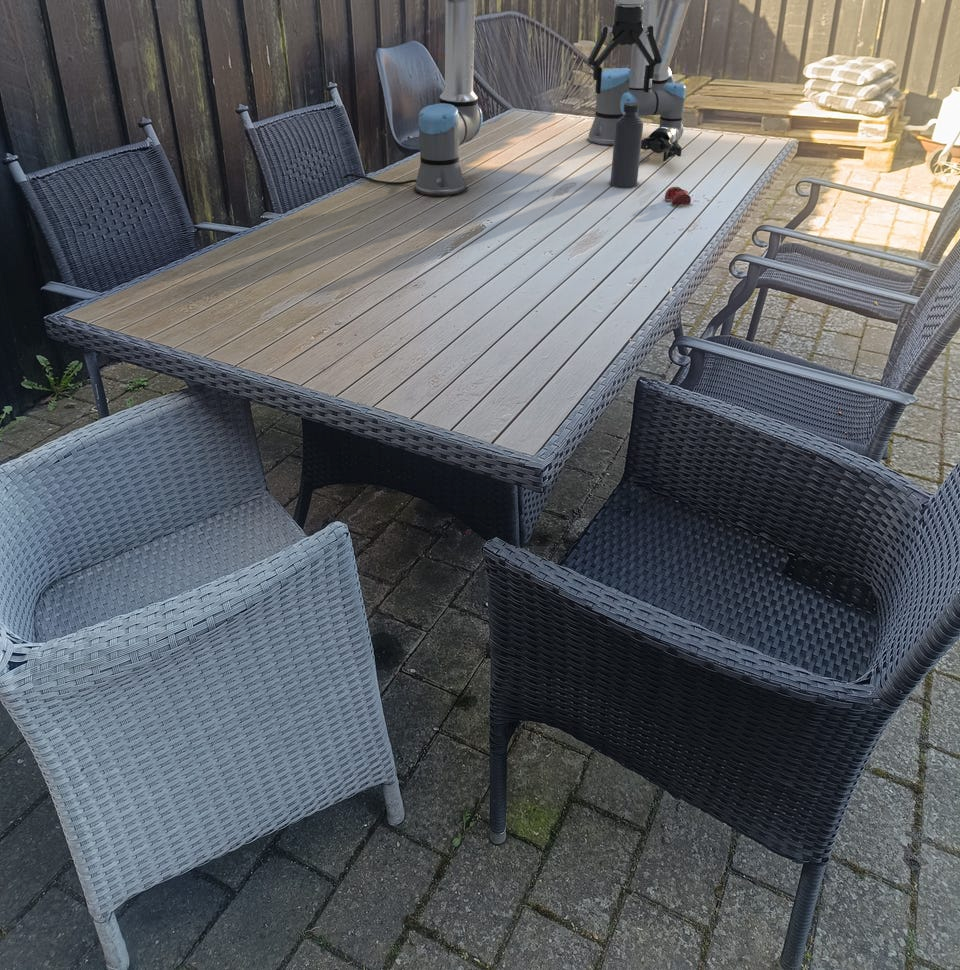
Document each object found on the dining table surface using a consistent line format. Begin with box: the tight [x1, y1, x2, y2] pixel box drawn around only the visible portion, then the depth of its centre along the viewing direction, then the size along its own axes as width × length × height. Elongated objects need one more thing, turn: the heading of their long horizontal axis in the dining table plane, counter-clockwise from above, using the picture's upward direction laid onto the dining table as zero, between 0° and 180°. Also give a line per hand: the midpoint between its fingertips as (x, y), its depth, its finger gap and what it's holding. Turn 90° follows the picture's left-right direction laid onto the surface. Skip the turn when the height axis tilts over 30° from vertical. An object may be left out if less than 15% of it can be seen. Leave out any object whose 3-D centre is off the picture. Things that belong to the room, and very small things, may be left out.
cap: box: [623, 103, 639, 113], centre depth 251 cm, size 4×4×2 cm
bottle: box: [609, 112, 644, 189], centre depth 257 cm, size 8×8×23 cm
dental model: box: [664, 186, 692, 206], centre depth 247 cm, size 6×4×8 cm
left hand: (621, 92), depth 235 cm, fingers open, 13 cm apart
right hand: (643, 154), depth 269 cm, fingers open, 13 cm apart
